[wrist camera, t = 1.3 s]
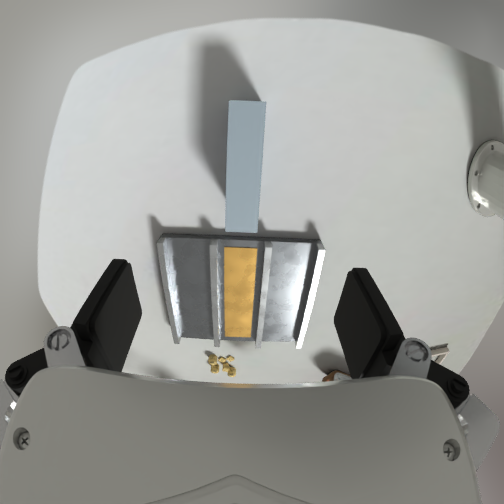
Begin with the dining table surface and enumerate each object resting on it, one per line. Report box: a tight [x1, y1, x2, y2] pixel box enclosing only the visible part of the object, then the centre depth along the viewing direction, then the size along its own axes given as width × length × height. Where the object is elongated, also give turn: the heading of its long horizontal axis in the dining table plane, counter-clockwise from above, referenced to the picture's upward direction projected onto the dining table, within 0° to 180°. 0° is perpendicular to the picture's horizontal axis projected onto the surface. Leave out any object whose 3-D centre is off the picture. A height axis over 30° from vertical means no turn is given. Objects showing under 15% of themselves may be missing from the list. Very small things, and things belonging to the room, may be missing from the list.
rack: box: [157, 234, 325, 348], centre depth 37 cm, size 20×18×2 cm
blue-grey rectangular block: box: [225, 100, 266, 233], centre depth 26 cm, size 3×12×7 cm, turn 177°
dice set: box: [208, 355, 236, 377], centre depth 46 cm, size 5×5×2 cm
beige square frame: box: [431, 347, 450, 364], centre depth 51 cm, size 12×12×2 cm
